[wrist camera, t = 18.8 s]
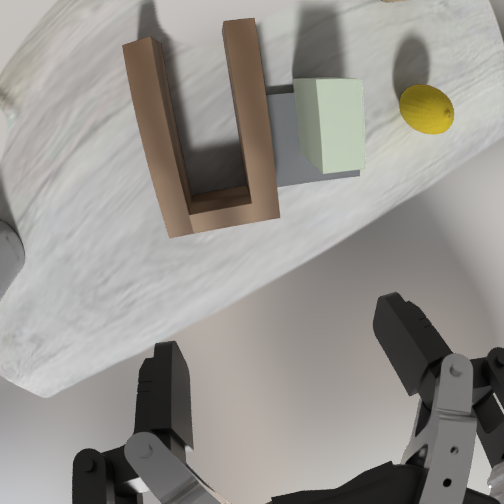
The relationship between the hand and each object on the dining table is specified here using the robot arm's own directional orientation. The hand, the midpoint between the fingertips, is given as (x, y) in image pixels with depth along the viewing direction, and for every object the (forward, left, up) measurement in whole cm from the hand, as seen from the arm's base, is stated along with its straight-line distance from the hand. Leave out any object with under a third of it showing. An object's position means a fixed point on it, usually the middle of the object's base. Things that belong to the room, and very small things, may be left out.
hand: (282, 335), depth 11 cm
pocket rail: (-2, +5, -23) cm, 24 cm away
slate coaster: (+9, +2, -23) cm, 25 cm away
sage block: (+9, +4, -22) cm, 24 cm away
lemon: (+21, +5, -23) cm, 32 cm away
